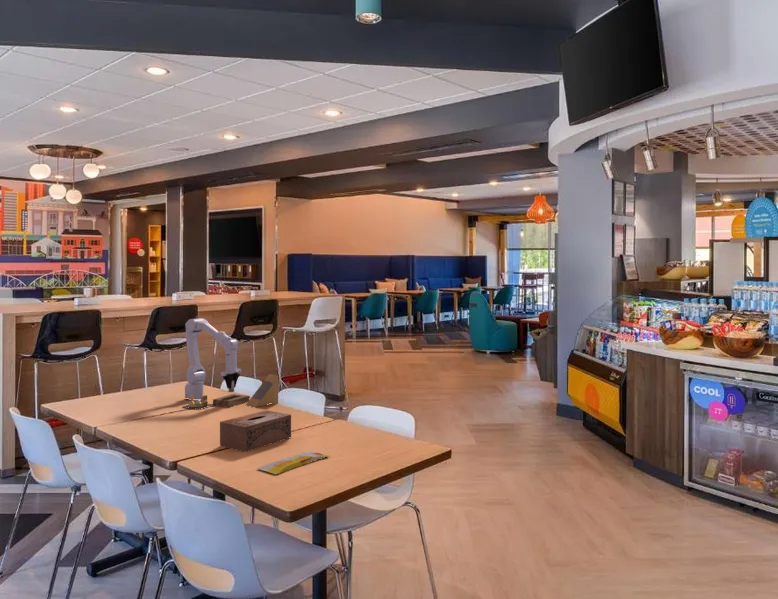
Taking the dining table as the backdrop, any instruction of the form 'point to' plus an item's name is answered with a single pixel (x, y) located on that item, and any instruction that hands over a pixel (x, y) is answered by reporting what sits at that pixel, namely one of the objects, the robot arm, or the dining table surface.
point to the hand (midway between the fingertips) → (231, 387)
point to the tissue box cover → (255, 430)
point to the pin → (231, 387)
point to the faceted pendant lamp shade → (199, 404)
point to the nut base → (197, 401)
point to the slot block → (231, 400)
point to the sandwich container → (266, 392)
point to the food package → (291, 462)
